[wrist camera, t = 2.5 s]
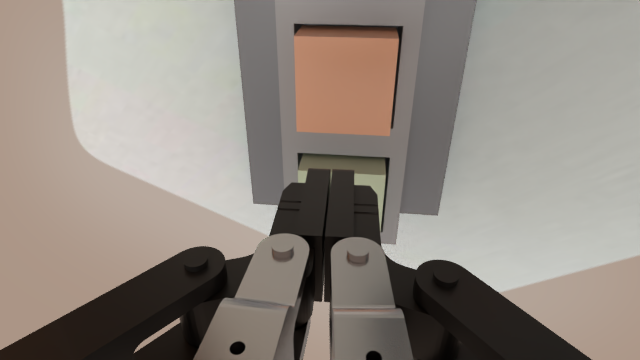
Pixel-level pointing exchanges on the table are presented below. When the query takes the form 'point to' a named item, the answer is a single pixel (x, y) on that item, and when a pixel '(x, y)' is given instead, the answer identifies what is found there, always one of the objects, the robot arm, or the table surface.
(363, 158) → the button sage
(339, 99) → the button terracotta
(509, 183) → the table surface
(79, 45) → the table surface
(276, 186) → the console
